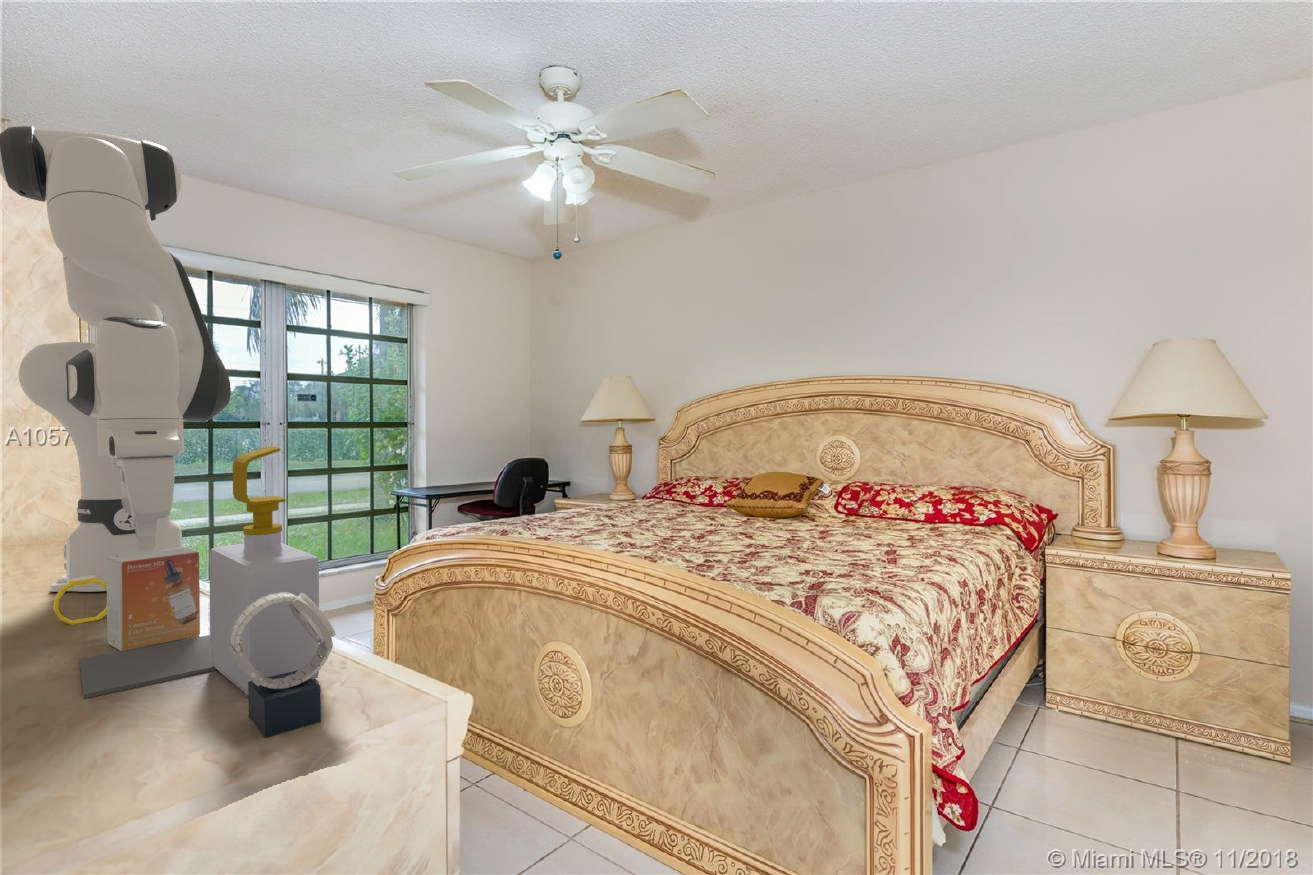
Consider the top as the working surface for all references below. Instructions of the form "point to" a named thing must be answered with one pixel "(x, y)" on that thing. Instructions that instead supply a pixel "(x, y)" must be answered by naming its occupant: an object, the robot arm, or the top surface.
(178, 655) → the mat
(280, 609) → the soap bottle
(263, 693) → the watch
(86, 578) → the watch
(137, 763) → the top surface
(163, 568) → the small box
